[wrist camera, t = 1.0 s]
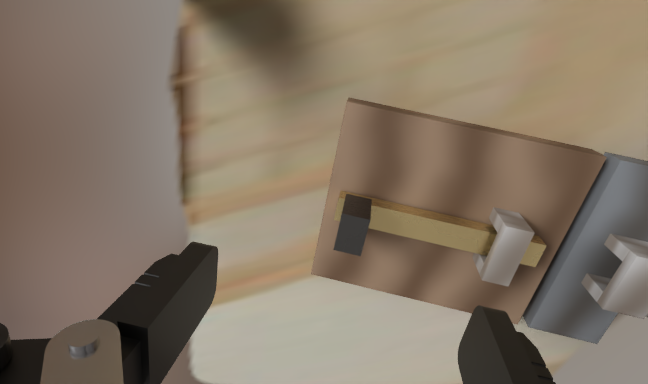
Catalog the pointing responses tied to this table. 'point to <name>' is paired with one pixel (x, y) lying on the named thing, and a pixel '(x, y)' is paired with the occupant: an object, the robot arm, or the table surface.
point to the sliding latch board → (494, 220)
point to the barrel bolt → (415, 227)
